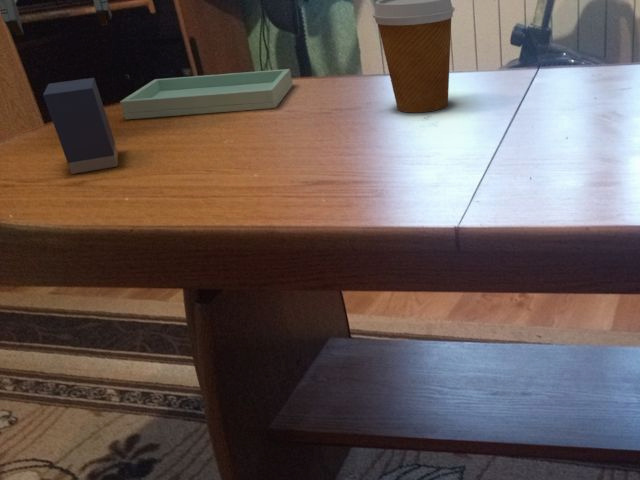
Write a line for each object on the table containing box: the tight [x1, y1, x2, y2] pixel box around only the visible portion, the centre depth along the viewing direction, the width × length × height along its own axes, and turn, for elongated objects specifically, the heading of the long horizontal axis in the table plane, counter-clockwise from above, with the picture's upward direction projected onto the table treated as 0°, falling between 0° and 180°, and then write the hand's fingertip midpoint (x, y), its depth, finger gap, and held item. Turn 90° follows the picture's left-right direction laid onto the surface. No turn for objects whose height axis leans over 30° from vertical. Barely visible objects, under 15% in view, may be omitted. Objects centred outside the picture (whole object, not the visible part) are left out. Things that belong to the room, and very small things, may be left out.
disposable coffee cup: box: [372, 0, 456, 113], centre depth 87 cm, size 10×10×12 cm
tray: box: [119, 68, 294, 120], centre depth 100 cm, size 20×14×2 cm
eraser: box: [42, 77, 119, 175], centre depth 77 cm, size 6×4×8 cm
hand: (60, 25), depth 79 cm, fingers open, 8 cm apart
